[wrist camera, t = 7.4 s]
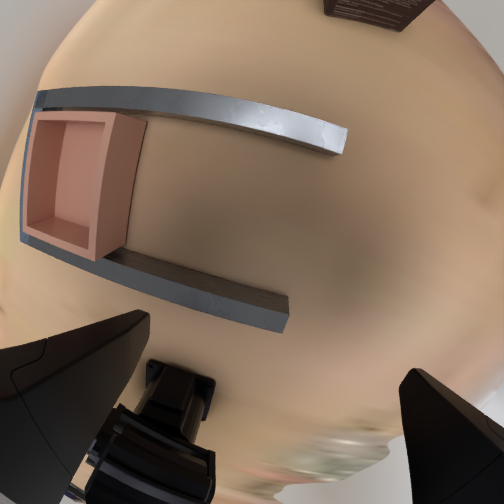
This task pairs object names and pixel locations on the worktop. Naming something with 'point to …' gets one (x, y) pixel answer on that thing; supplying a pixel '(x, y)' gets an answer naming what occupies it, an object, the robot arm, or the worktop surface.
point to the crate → (81, 179)
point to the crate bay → (166, 274)
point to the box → (378, 11)
